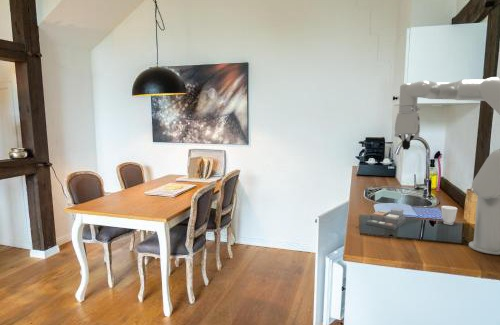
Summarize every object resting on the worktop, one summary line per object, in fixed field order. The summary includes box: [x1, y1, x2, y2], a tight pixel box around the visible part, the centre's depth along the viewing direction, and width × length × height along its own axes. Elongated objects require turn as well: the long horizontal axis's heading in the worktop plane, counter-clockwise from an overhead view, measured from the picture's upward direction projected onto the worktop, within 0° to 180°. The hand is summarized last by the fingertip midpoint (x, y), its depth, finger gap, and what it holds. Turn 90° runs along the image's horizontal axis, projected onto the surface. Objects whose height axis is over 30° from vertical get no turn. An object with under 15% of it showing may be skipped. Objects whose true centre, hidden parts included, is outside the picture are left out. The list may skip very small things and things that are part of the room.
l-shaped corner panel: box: [374, 189, 402, 201], centre depth 200 cm, size 12×12×8 cm
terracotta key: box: [372, 211, 386, 217], centre depth 160 cm, size 5×5×3 cm
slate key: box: [390, 207, 404, 217], centre depth 160 cm, size 5×5×3 cm
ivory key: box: [386, 214, 399, 219], centre depth 156 cm, size 5×5×3 cm
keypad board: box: [366, 211, 406, 231], centre depth 159 cm, size 13×17×4 cm
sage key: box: [377, 209, 391, 215], centre depth 165 cm, size 5×5×3 cm
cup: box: [440, 205, 458, 226], centre depth 160 cm, size 7×10×8 cm
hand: (405, 149), depth 152 cm, fingers closed
